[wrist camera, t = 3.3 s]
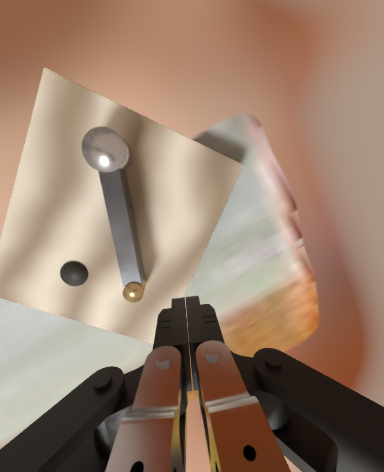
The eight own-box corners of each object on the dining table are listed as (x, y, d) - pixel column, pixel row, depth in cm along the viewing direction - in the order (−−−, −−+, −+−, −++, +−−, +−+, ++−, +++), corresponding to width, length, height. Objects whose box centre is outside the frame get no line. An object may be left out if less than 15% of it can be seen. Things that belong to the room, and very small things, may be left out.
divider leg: (90, 136, 17) (76, 128, 15) (128, 132, 17) (121, 124, 15) (123, 291, 21) (117, 305, 18) (155, 287, 21) (152, 299, 18)
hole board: (-1, 286, 21) (-15, 294, 20) (54, 77, 17) (43, 66, 16) (161, 336, 24) (160, 346, 23) (238, 166, 20) (244, 165, 19)
